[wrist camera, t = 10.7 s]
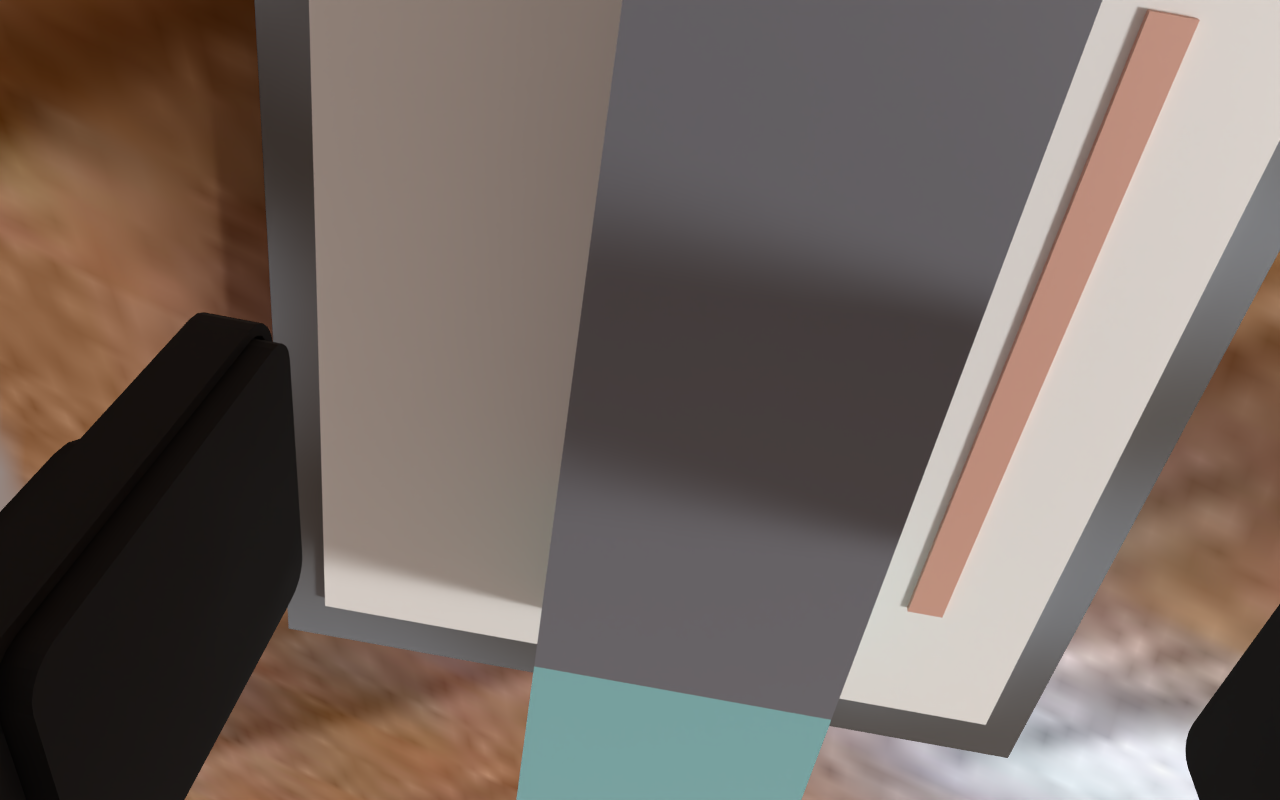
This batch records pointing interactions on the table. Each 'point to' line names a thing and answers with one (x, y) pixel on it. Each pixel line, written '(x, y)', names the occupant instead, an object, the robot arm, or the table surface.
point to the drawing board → (552, 302)
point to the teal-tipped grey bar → (769, 365)
